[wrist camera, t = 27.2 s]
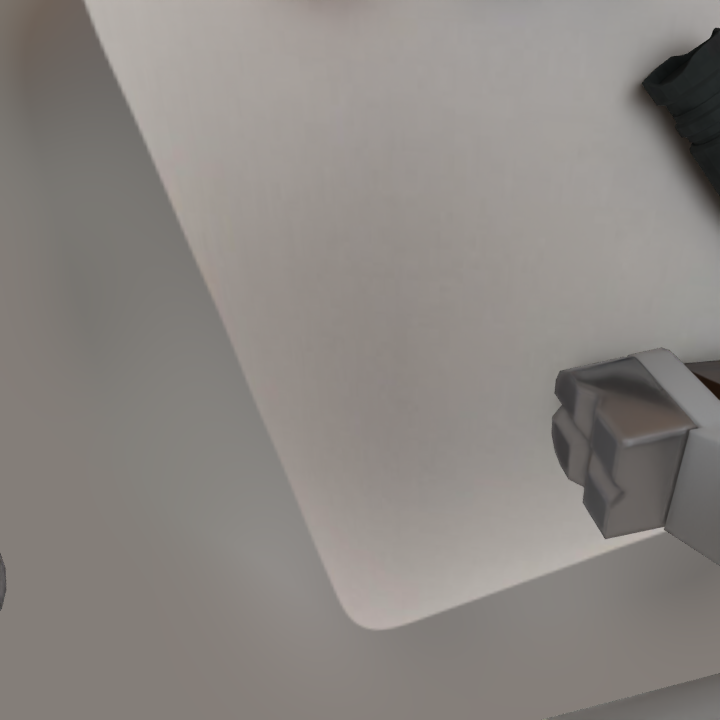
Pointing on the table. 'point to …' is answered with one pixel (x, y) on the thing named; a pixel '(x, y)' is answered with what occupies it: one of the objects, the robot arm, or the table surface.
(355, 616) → the table surface
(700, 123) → the flashlight
